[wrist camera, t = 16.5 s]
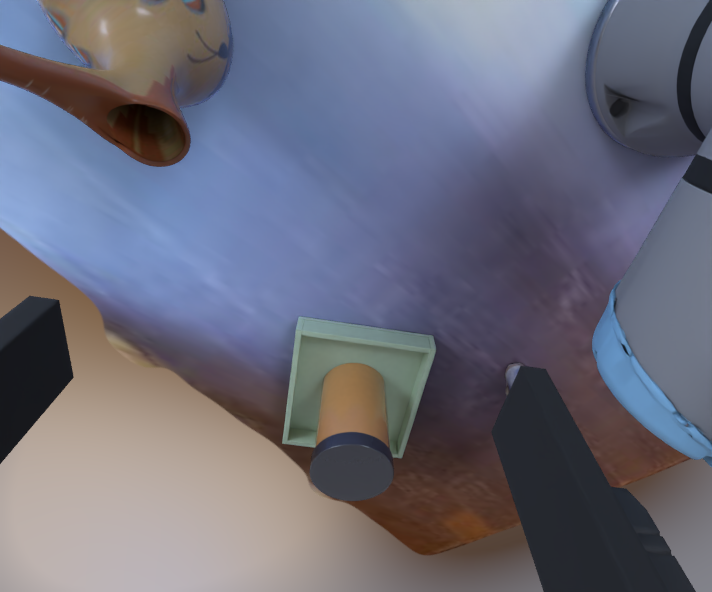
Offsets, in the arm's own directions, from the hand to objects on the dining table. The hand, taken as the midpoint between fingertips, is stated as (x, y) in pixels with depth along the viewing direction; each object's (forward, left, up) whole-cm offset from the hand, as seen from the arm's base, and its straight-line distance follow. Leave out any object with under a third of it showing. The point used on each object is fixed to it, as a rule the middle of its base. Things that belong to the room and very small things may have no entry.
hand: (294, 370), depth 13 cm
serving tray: (-6, +25, -29) cm, 38 cm away
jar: (-6, +25, -28) cm, 38 cm away
